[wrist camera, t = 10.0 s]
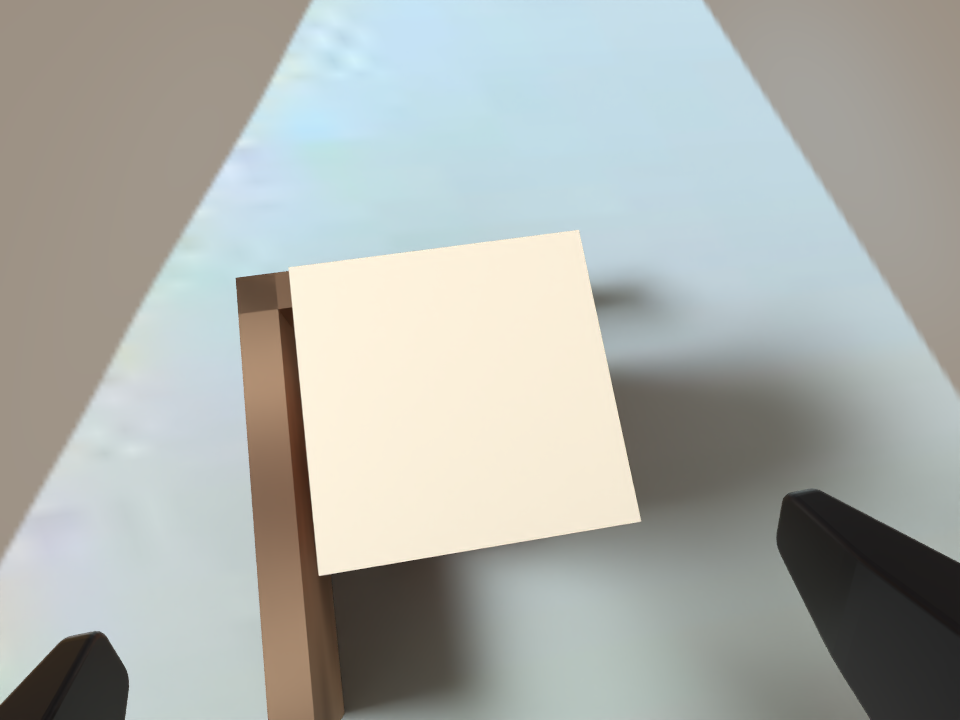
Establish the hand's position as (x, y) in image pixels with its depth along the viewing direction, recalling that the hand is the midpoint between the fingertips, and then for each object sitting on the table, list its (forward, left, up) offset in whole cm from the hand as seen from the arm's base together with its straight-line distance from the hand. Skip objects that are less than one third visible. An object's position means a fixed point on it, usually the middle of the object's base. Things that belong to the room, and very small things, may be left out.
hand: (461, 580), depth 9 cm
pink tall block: (+3, 0, -11) cm, 12 cm away
